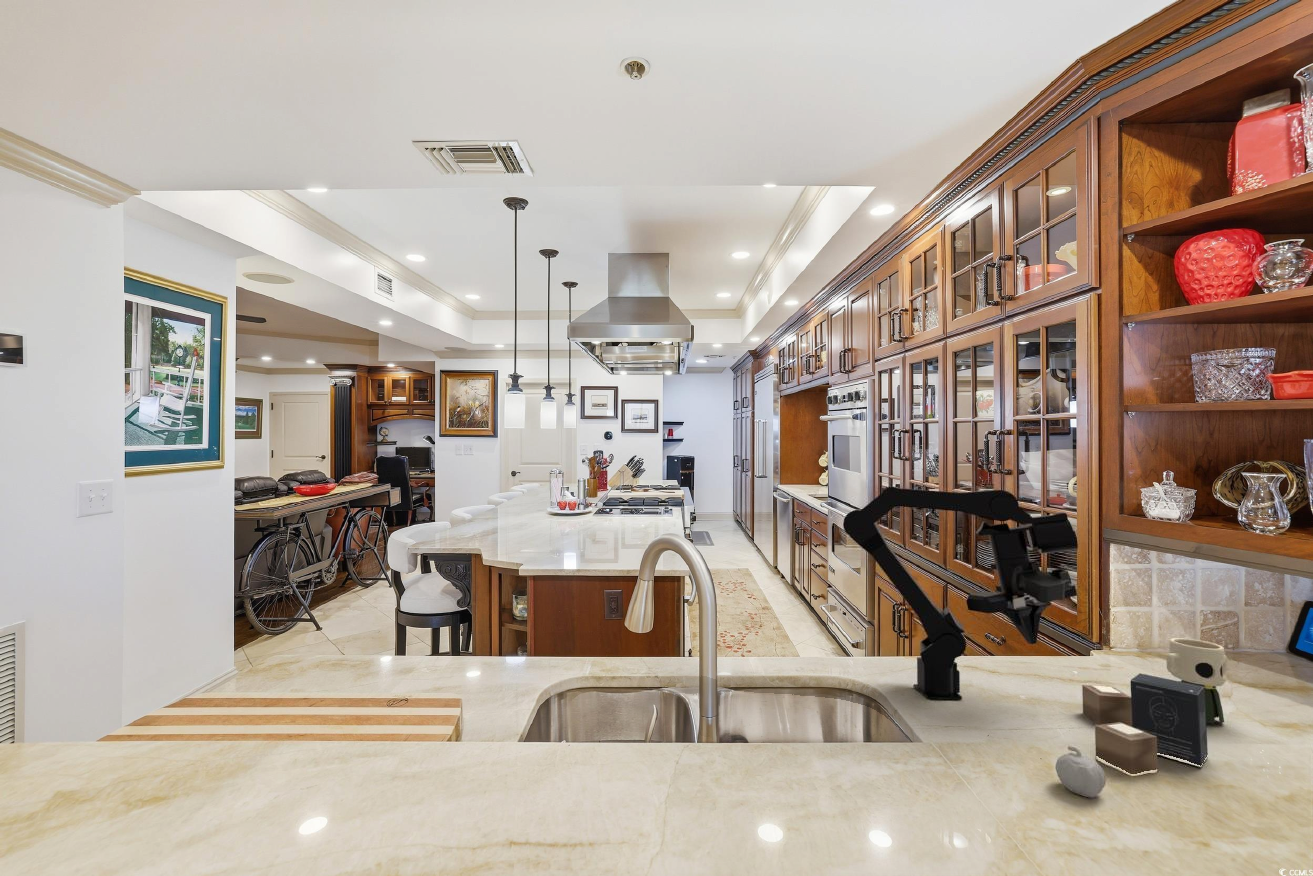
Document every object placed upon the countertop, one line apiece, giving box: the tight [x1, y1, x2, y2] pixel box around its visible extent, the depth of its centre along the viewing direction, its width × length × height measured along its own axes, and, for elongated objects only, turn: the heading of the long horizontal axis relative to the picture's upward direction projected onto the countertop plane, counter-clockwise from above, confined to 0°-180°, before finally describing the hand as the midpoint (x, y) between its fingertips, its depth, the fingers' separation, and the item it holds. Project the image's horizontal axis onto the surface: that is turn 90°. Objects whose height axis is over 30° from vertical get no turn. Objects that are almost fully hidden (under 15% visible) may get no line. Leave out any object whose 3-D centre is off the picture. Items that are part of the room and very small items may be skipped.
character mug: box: [1166, 637, 1228, 724], centre depth 101 cm, size 11×7×13 cm, turn 94°
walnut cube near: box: [1094, 722, 1159, 774], centre depth 84 cm, size 5×5×5 cm
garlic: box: [1055, 745, 1107, 798], centre depth 77 cm, size 6×5×5 cm
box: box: [1130, 672, 1209, 766], centre depth 88 cm, size 8×6×11 cm
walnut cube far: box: [1081, 684, 1132, 727], centre depth 100 cm, size 5×5×5 cm
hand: (1032, 643), depth 105 cm, fingers closed
